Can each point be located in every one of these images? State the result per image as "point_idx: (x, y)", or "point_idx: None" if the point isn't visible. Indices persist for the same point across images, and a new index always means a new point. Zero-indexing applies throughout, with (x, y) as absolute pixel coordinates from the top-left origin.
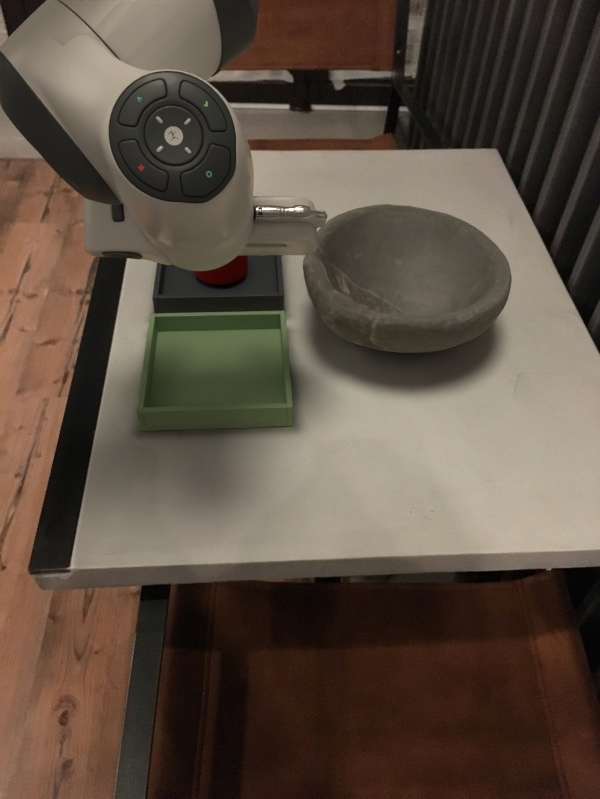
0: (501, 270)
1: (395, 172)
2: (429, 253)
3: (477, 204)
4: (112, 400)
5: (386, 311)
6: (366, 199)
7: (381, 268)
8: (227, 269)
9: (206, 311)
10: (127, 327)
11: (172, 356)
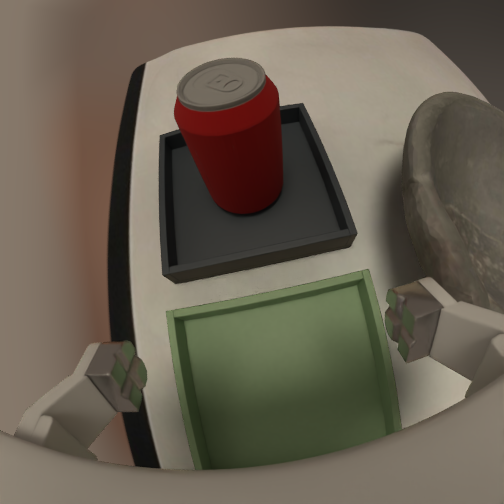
0: None
1: (372, 42)
2: (496, 156)
3: (449, 76)
4: (164, 439)
5: (470, 235)
6: (365, 65)
7: (457, 172)
8: (260, 196)
9: (242, 267)
10: (146, 309)
11: (216, 370)
